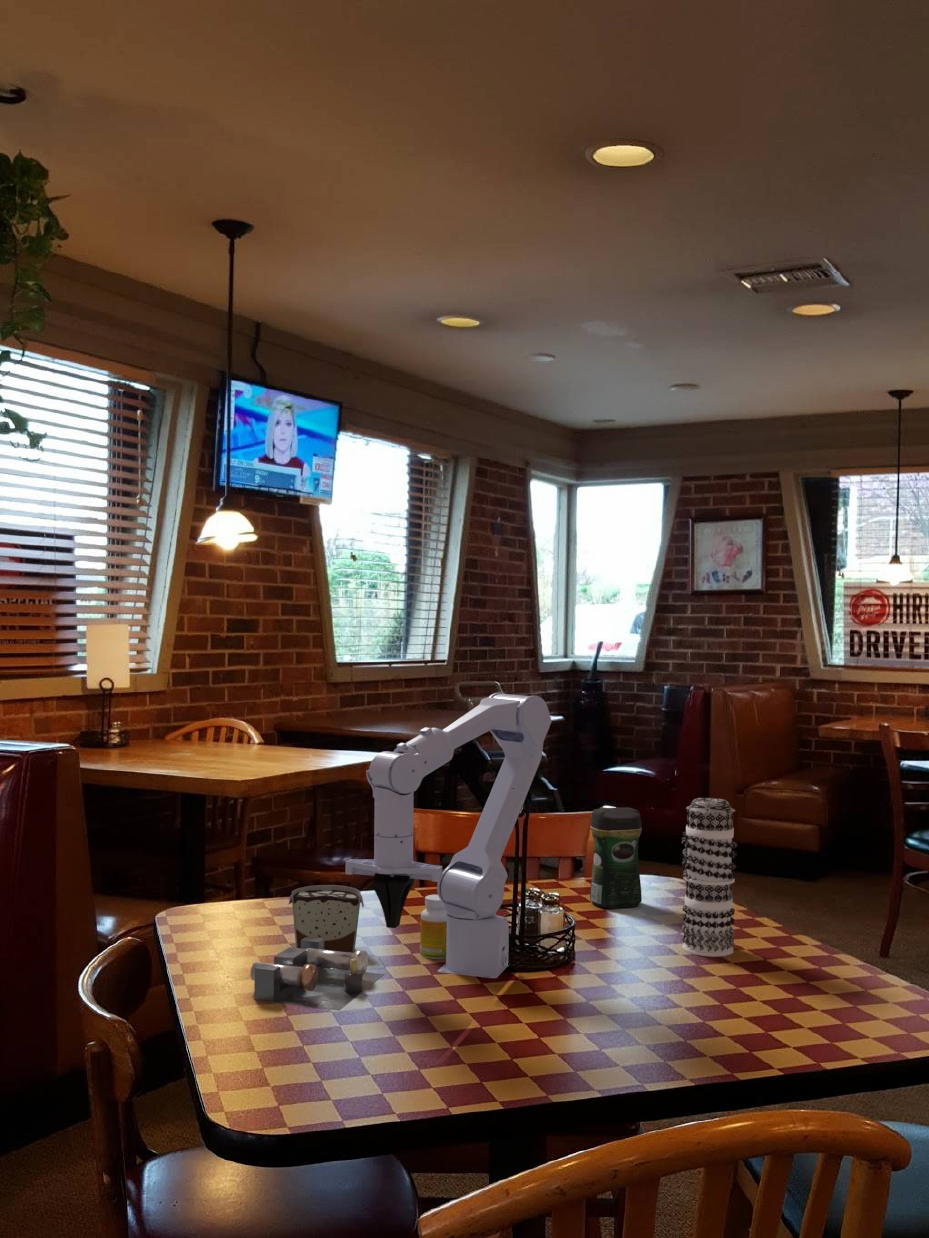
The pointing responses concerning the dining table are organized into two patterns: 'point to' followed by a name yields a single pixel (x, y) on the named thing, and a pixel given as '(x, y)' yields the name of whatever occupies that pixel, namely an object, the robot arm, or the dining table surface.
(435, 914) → the supplement bottle
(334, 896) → the food container
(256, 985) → the mount
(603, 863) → the coffee jar
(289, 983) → the copper-capped metal rod
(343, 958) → the silver long cylinder
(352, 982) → the potentiometer
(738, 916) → the dining table surface
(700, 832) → the decorative candle
